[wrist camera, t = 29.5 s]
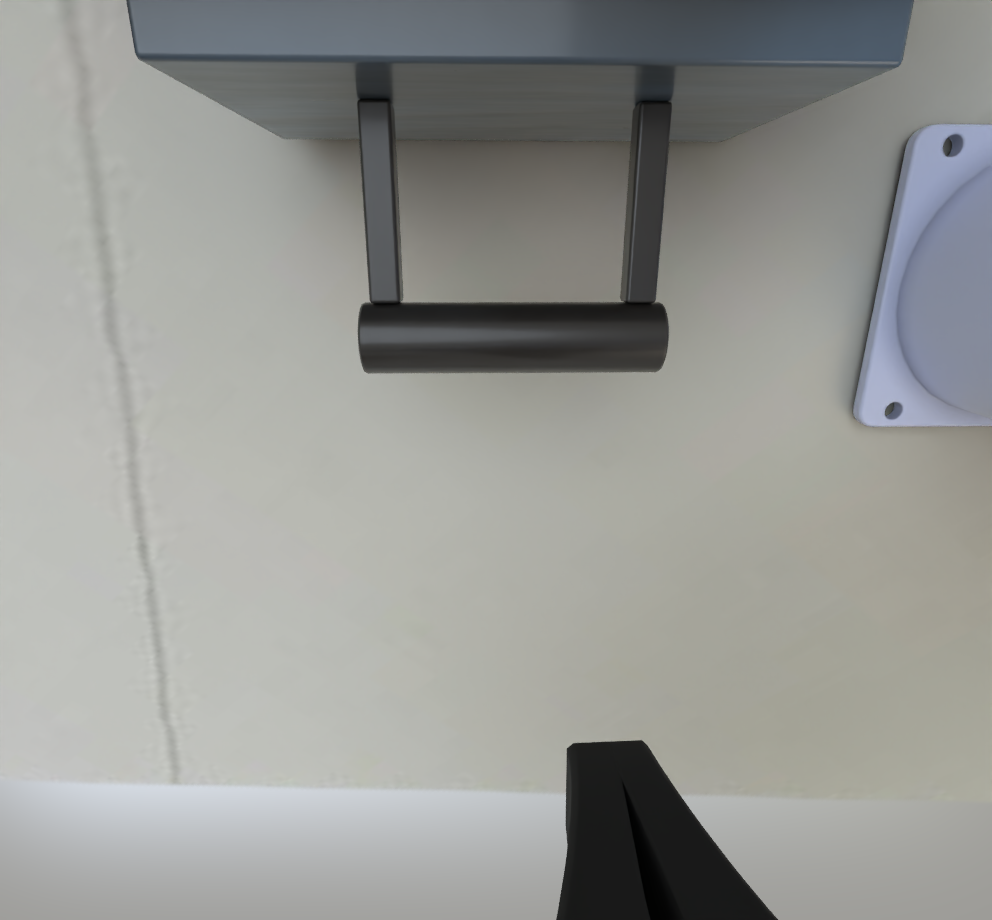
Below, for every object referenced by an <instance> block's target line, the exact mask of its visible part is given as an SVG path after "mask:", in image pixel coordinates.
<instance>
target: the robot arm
mask: <svg viewBox="0 0 992 920" xmlns="http://www.w3.org/2000/svg"><path fill="white" fill-rule="evenodd" d="M947 138H949V139H950V140H951V142H952V149H951V151H950V154H949V155H948V156H946V155H945V154H944V152H943V144H944V142H945V140H946V139H947ZM890 403H894V408H893V410H892V412H891V413H890V414H888V415H886V416H885V409H886V407H887V406H888V405H889V404H890ZM853 415H854V417H855V419H856V420H857V421H859V422H860V423H862V424H864V425H866V426H871V427H924V426H992V124H935V125H930V126H926V127H922V128H920V129H919V130H917V131H916V132H914V134H913V135H912V136H911V137H910V139H909V140H908V143H907V146H906V149H905V154H904V159H903V164H902V169H901V174H900V179H899V184H898V189H897V194H896V199H895V204H894V209H893V214H892V219H891V223H890V228H889V233H888V238H887V243H886V248H885V253H884V258H883V263H882V268H881V273H880V278H879V283H878V288H877V293H876V298H875V303H874V308H873V313H872V318H871V323H870V328H869V333H868V338H867V343H866V348H865V353H864V358H863V363H862V368H861V373H860V378H859V383H858V387H857V392H856V397H855V402H854V407H853ZM566 831H567V832H566V833H567V843H568V849H567V857H566V865H565V871H564V877H563V883H562V890H561V897H560V902H559V909H558V914H557V919H556V920H778V919H777V918H776V917H775V916H774V915H773V914H772V912H771V911H770V910H769V909H768V908H767V907H766V905H765V904H764V903H763V902H762V901H761V899H760V898H759V897H758V896H757V895H756V893H755V892H754V891H753V890H752V889H751V888H750V886H749V885H748V884H747V883H746V882H745V880H744V879H743V878H742V877H741V875H740V874H739V873H738V872H737V871H736V869H735V868H734V867H733V866H732V864H731V863H730V862H729V860H728V859H727V858H726V857H725V855H724V854H723V853H722V851H721V850H720V849H719V848H718V846H717V845H716V843H715V842H714V841H713V840H712V838H711V837H710V836H709V834H708V833H707V832H706V831H705V829H704V828H703V826H702V825H701V824H700V822H699V821H698V820H697V818H696V817H695V816H694V814H693V813H692V811H691V810H690V809H689V807H688V806H687V804H686V803H685V802H684V800H683V799H682V797H681V796H680V794H679V793H678V792H677V790H676V789H675V787H674V786H673V784H672V783H671V781H670V780H669V778H668V777H667V775H666V774H665V772H664V771H663V769H662V768H661V766H660V765H659V763H658V761H657V760H656V758H655V757H654V755H653V754H652V752H651V750H650V749H649V747H648V745H646V744H645V743H644V742H643V741H642V740H639V741H615V742H592V743H573V744H572V745H571V746H570V747H568V748H567V777H566Z"/></svg>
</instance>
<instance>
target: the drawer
mask: <svg viewBox="0 0 992 920" xmlns="http://www.w3.org/2000/svg"><path fill="white" fill-rule="evenodd" d="M126 1H127V7H128V13H129V19H130V25H131V31H132V37H133V43H134V49H135V53H136V55H137V57H138V59H139V60H141V61H143V62H145V63H146V64H148V65H150V66H152V67H154V68H156V69H157V70H159V71H161V72H163V73H165V74H166V75H168V76H170V77H172V78H174V79H176V80H177V81H179V82H181V83H183V84H185V85H186V86H188V87H190V88H192V89H194V90H196V91H197V92H199V93H201V94H203V95H205V96H206V97H208V98H210V99H212V100H214V101H216V102H217V103H219V104H221V105H223V106H225V107H226V108H228V109H230V110H232V111H234V112H236V113H237V114H239V115H241V116H243V117H245V118H246V119H248V120H250V121H252V122H254V123H256V124H257V125H259V126H261V127H263V128H265V129H266V130H268V131H270V132H272V133H274V134H276V135H277V136H279V137H281V138H283V139H359V143H360V159H361V174H362V189H363V205H364V220H365V235H366V251H367V266H368V281H369V297H370V301H371V303H363V304H362V305H361V308H360V312H359V318H358V344H359V353H360V359H361V363H362V367H363V369H364V371H365V372H366V373H561V372H657V371H659V370H660V369H661V368H662V366H663V363H664V361H665V357H666V353H667V348H668V338H669V326H668V317H667V313H666V309H665V307H664V305H663V304H661V303H659V302H655V300H656V291H657V279H658V267H659V255H660V244H661V232H662V220H663V209H664V197H665V185H666V174H667V162H668V150H669V141H680V142H722V141H724V140H727V139H729V138H732V137H734V136H736V135H739V134H741V133H743V132H746V131H748V130H750V129H753V128H755V127H757V126H760V125H762V124H765V123H767V122H769V121H772V120H774V119H776V118H779V117H781V116H783V115H786V114H788V113H790V112H793V111H795V110H797V109H800V108H802V107H805V106H807V105H809V104H812V103H814V102H816V101H819V100H821V99H823V98H826V97H828V96H830V95H833V94H835V93H837V92H840V91H842V90H845V89H847V88H849V87H852V86H854V85H856V84H859V83H861V82H863V81H866V80H868V79H870V78H873V77H875V76H878V75H880V74H882V73H885V72H887V71H889V70H892V69H894V68H896V67H898V66H899V65H900V64H901V62H902V60H903V55H904V49H905V44H906V39H907V34H908V29H909V23H910V18H911V13H912V8H913V2H914V0H126ZM396 140H520V141H631V146H630V161H629V176H628V191H627V206H626V221H625V236H624V251H623V266H622V281H621V296H620V298H621V300H622V301H624V302H476V303H400V302H401V301H402V300H403V280H402V259H401V238H400V217H399V196H398V174H397V153H396Z"/></svg>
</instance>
